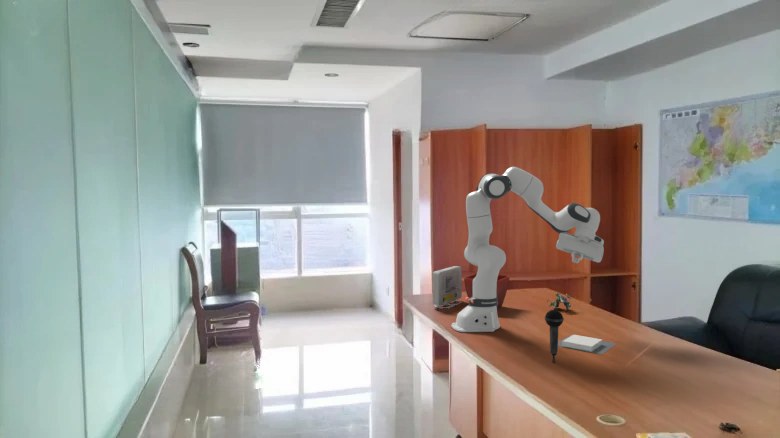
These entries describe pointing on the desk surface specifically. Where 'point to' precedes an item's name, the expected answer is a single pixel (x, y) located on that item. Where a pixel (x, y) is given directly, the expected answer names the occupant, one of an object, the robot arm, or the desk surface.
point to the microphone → (554, 329)
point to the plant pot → (500, 292)
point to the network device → (447, 286)
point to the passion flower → (560, 299)
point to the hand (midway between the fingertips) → (575, 261)
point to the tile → (582, 343)
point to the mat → (600, 350)
